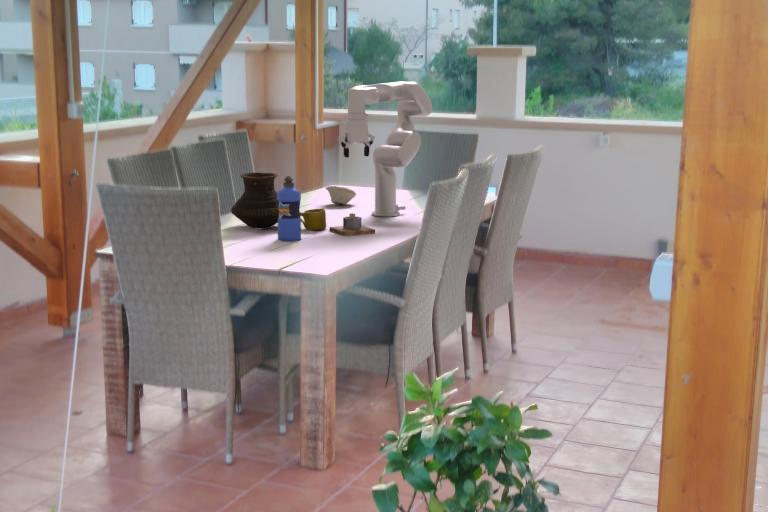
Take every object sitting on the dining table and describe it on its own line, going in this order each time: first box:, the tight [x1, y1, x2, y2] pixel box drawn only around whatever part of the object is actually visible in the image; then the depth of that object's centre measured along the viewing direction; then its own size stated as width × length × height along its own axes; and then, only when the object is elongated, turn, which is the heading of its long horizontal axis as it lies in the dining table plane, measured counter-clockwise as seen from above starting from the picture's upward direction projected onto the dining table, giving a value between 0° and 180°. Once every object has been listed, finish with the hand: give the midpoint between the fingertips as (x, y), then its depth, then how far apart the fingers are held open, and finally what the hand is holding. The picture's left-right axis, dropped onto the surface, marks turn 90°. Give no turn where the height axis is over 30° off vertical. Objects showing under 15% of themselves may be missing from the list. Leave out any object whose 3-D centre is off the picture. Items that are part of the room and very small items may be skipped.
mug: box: [300, 208, 327, 232], centre depth 436 cm, size 12×10×10 cm
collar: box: [342, 216, 363, 230], centre depth 429 cm, size 7×7×4 cm
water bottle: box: [276, 175, 302, 243], centre depth 410 cm, size 9×9×25 cm
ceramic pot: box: [230, 171, 279, 229], centre depth 438 cm, size 24×24×22 cm
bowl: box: [325, 185, 357, 206], centre depth 503 cm, size 15×14×10 cm
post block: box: [329, 213, 376, 237], centre depth 429 cm, size 14×14×8 cm
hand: (356, 156), depth 451 cm, fingers open, 9 cm apart
